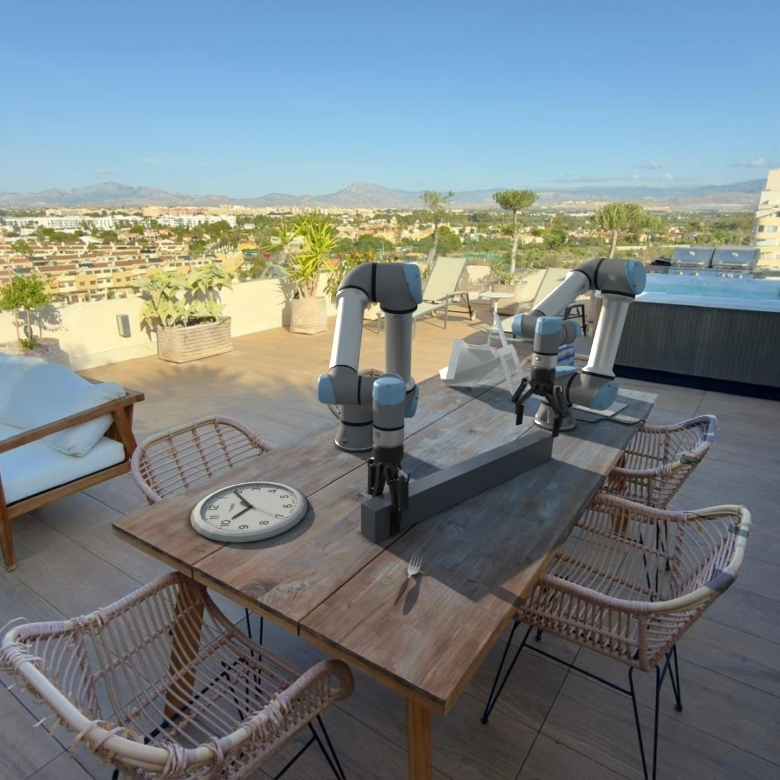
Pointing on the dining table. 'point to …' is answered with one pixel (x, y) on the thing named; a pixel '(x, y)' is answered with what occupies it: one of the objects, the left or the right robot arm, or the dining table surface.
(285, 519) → the wall clock
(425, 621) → the dining table surface
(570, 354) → the lunch box
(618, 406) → the invitation card
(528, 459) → the bar
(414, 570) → the fork
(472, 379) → the white plastic object
